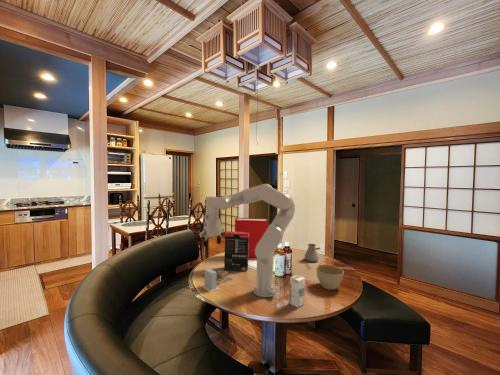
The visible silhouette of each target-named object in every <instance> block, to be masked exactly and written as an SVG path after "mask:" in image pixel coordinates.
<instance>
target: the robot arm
mask: <svg viewBox="0 0 500 375" xmlns="http://www.w3.org/2000/svg"><path fill="white" fill-rule="evenodd" d="M259 201H263V202H265V203H267V204H269V205H271V206H273V207H275V208H277V209H278V210H279V211H278V212H277V213H276V215H275V217H274V219H273V220H272V222H271V223H270V224H269V225H268V228H267V230H266V232H265V233H264V235H263V236H262V238H261V240H260V241H259V242H258V244H257V245H256V247H255V255H256V257H257V259H256V286H255V287H254V288H253V294H254V295H255V296H257V297H260V298H271V297H273V296H274V297H276V296H277V293H278V290H276V289H275V286H274V258H275V256H274V255H275V251H276V250H277V248H278V247H279V245H280V244H281V242H282V240H283V238H284V234H285V231H286V230H287V228H288V226H289V225H290V223H291V221H292V219H294V216H295V210H296V206H295V205H296V204H295V201H294V199H293V198H292V196H291V195H290V194H289V193H287V192H281V191H279V190H277V189H276V188H273V187H272V185H270V184H269V183H263V184H260V185H255V186H252V187H249V188H246V189H243V190H240V191H239V192H236V193H232V194H229V195H225V196H221V197H220V196H219V197H218V196H207V197H206V198H205V215H204V216H203V218H204V219H205V220H204V223H203V230H202V231H201V232H199V237H200V238H201V240H202V241H203V242H202V245H203V246H202V247H204V248H208V239H209V238H212V237H216V244H219V245H221V244H222V237H223V235H224V232H225V229H224V228H222V223H221V219H220V218H219V211H220V210H222V211H224V210H228V209H229V208H233V207H236V206H240V205H244V204H245V205H247V204H253V203H255V202H259Z"/></svg>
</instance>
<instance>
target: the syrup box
mask: <svg viewBox="0 0 500 375" xmlns="http://www.w3.org/2000/svg"><path fill="white" fill-rule="evenodd" d="M305 289H306V277H303V276H301V275H299V274H295V275H294V276H290V279H289V299H288V302H289V305H292V307H293V306H294V307H295V308H301V307H302V306H304V305H305V296H306V295H305V294H306V290H305Z"/></svg>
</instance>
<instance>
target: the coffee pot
mask: <svg viewBox="0 0 500 375" xmlns="http://www.w3.org/2000/svg"><path fill="white" fill-rule="evenodd" d="M307 246H308V248H307V250H306V251H305V253H304V259H305V260H306V261H308V262H310V263H315V262H318V260H319V259H320V257H319V253H318V252H317V251H319V250H320V249H321V247H316V246H317V245H316V244H315V243H308V244H307Z"/></svg>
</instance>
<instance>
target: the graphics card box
mask: <svg viewBox="0 0 500 375" xmlns="http://www.w3.org/2000/svg"><path fill="white" fill-rule="evenodd" d="M248 250H249V232H235V231H227V230H226V231H225V233H224V260H223V261H224V262H223V263H224V265H223V266H224V267H223V268H224V270H223V271H226V270H227V271H241V272H247V271H248V270H249V258H248Z"/></svg>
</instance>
